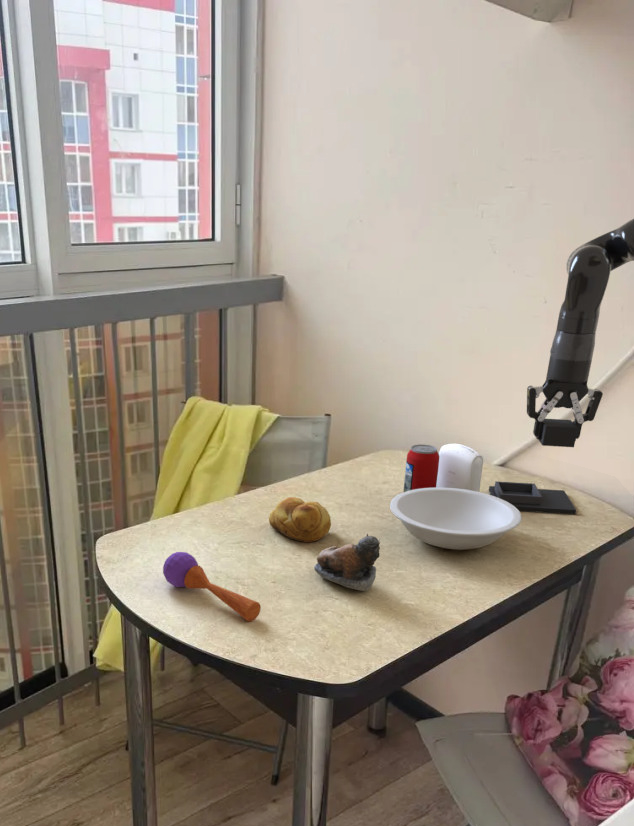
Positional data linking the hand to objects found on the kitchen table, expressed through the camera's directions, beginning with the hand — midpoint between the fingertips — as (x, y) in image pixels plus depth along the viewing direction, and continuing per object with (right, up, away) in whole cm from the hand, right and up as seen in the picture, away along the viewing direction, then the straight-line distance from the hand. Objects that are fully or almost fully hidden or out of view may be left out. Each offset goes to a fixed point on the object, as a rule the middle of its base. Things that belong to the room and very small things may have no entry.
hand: (555, 439), depth 156 cm
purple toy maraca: (-69, -30, -29) cm, 81 cm away
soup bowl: (-23, -21, -7) cm, 32 cm away
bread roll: (-52, -19, -4) cm, 56 cm away
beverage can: (-25, -12, +12) cm, 30 cm away
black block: (0, -1, 0) cm, 1 cm away
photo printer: (-16, -12, +13) cm, 24 cm away
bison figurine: (-46, -28, -23) cm, 58 cm away
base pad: (0, -12, +12) cm, 17 cm away
